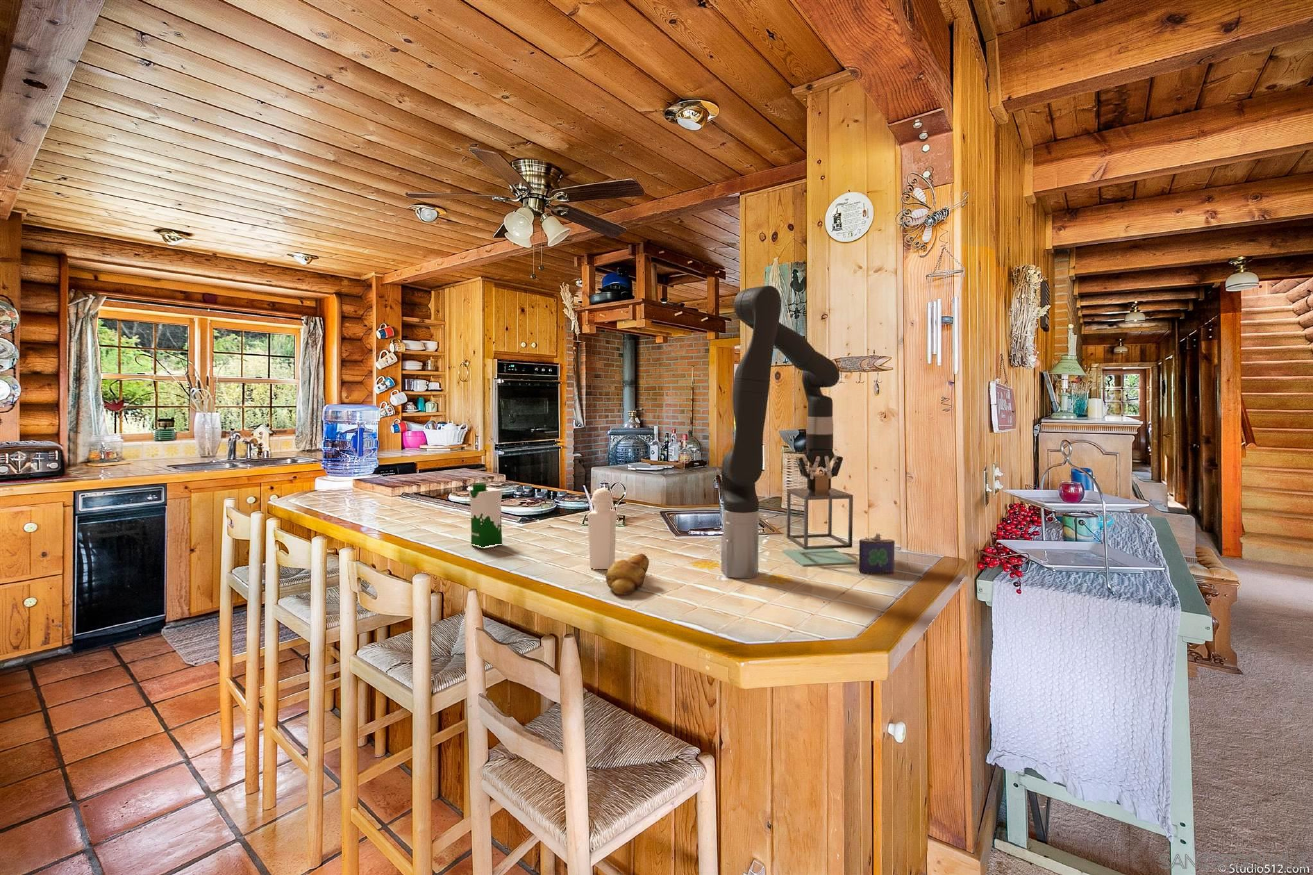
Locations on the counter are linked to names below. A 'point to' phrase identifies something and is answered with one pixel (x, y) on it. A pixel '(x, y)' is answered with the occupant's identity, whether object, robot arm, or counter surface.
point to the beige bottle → (602, 530)
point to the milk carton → (485, 515)
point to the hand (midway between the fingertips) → (819, 491)
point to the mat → (818, 557)
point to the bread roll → (627, 574)
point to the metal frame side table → (822, 493)
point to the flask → (876, 555)
